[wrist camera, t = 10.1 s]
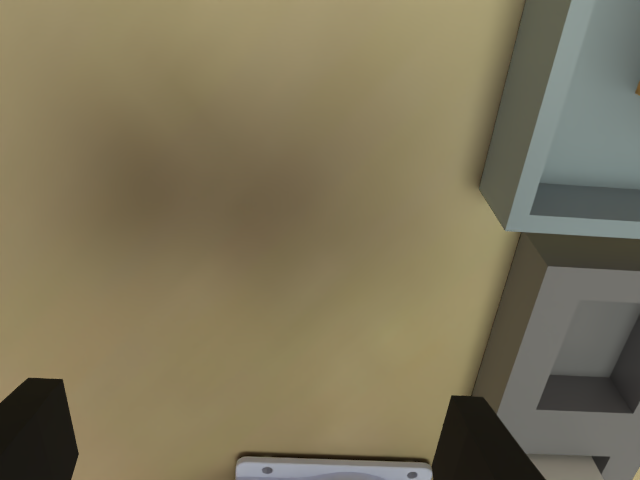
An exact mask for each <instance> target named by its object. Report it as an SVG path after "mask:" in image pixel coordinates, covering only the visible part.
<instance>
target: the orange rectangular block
mask: <svg viewBox="0 0 640 480" xmlns="http://www.w3.org/2000/svg"><path fill="white" fill-rule="evenodd" d="M635 94H637V95H639V96H640V81H639V84H638V86H637V89H636V92H635Z"/></svg>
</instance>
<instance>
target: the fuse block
mask: <svg viewBox="0 0 640 480" xmlns="http://www.w3.org/2000/svg"><path fill="white" fill-rule="evenodd" d="M472 396H475V397H484V399H485V400H486V401H487V402H488V403H489V405H490V406H491V407H492V409H493V410H494V412H495V413H496V414H497V416H498V417H499V418H500V420H501V421H502V422H503V424H504V425H505V426H506V428H507V429H508V430H509V432H510V433H511V435H512V436H513V437H514V439H515V440H516V441H517V443H518V444H519V445H520V447H521V448H522V449H523V450H524V452H525V453H526V454H552V455H580V456H592V458H593V460H594V462H595V464H596V466H597V468H598V470H599V472H600V474H601V475H602V477H603V479H604V480H632V479H633V478H634V476H635V474H636V472H637V471H638V469H639V467H640V239H631V238H614V237H597V236H581V235H564V234H547V233H531V232H522V233H521V236H520V239H519V242H518V246H517V249H516V252H515V256H514V259H513V262H512V265H511V269H510V272H509V275H508V278H507V282H506V285H505V288H504V292H503V295H502V298H501V301H500V305H499V308H498V311H497V314H496V318H495V321H494V324H493V328H492V331H491V334H490V337H489V341H488V344H487V347H486V350H485V354H484V357H483V360H482V363H481V367H480V370H479V373H478V377H477V380H476V383H475V386H474V390H473V393H472Z"/></svg>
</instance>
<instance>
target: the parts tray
mask: <svg viewBox="0 0 640 480" xmlns="http://www.w3.org/2000/svg"><path fill="white" fill-rule="evenodd" d="M639 81H640V0H526V2H525V6H524V10H523V14H522V18H521V22H520V26H519V30H518V34H517V38H516V42H515V46H514V50H513V54H512V58H511V62H510V67H509V71H508V75H507V79H506V83H505V87H504V91H503V95H502V99H501V103H500V107H499V111H498V115H497V119H496V123H495V127H494V131H493V135H492V139H491V143H490V147H489V151H488V155H487V159H486V163H485V167H484V171H483V175H482V179H481V183H480V187H479V190H480V192H481V193H482V195H483V196H484V198H485V200H486V201H487V203H488V204H489V206H490V208H491V209H492V211H493V212H494V214H495V216H496V217H497V219H498V220H499V222H500V224H501V225H502V227H503V228H504V230H505V231H514V232H531V233H547V234H564V235H581V236H597V237H614V238H631V239H640V96H639V95H637V94H635V92H636V89H637V86H638V84H639Z"/></svg>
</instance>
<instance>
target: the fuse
mask: <svg viewBox="0 0 640 480" xmlns="http://www.w3.org/2000/svg"><path fill="white" fill-rule="evenodd" d="M527 456H528V457H529V458H530V460H531V461H532V462H533V464H534V465H535V466H536V467H537V469H538V470H539V471H540V473H541V474H542V475H543V476H544V478H545V479H546V480H604V479H603V477H602V475H601V474H600V472H599V470H598V468H597V466H596V464H595V462H594V460H593V458H592V456H580V455H552V454H527Z"/></svg>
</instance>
